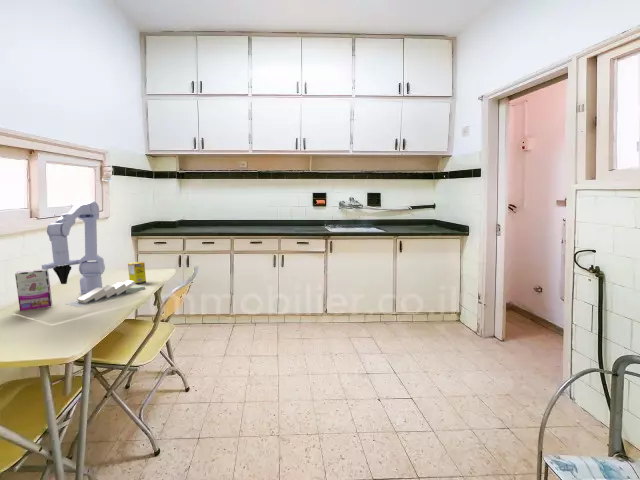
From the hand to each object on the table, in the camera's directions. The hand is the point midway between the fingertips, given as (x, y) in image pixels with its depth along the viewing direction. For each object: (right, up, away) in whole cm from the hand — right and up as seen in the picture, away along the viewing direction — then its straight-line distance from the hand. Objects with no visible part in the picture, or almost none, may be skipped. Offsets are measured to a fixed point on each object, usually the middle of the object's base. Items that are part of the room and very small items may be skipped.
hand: (63, 283), depth 175 cm
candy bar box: (-13, -11, +2) cm, 17 cm away
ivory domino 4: (+12, -6, +19) cm, 23 cm away
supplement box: (+11, -5, +47) cm, 48 cm away
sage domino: (+14, -6, +23) cm, 28 cm away
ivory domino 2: (+6, -8, +10) cm, 14 cm away
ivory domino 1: (+4, -8, +6) cm, 11 cm away
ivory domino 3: (+9, -7, +15) cm, 19 cm away
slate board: (+8, -9, +14) cm, 18 cm away
